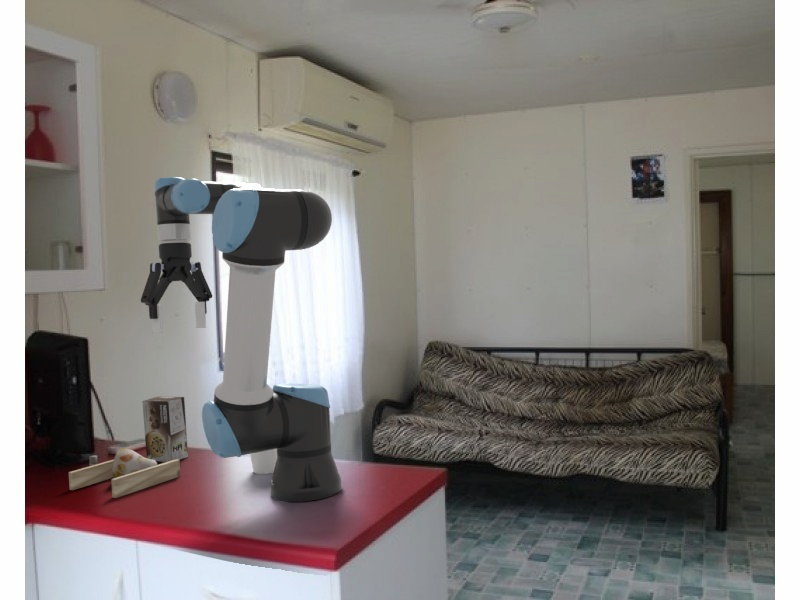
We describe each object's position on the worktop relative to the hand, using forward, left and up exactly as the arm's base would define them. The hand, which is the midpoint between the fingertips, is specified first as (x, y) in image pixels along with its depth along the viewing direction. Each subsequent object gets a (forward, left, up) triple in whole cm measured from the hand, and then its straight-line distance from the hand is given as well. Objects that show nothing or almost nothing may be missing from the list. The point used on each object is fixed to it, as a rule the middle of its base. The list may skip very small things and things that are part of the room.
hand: (180, 330), depth 177 cm
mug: (+7, +9, -34) cm, 36 cm away
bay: (+7, +13, -35) cm, 38 cm away
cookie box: (+16, -7, -35) cm, 39 cm away
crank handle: (+19, +8, -35) cm, 41 cm away
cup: (-18, -8, -35) cm, 40 cm away
